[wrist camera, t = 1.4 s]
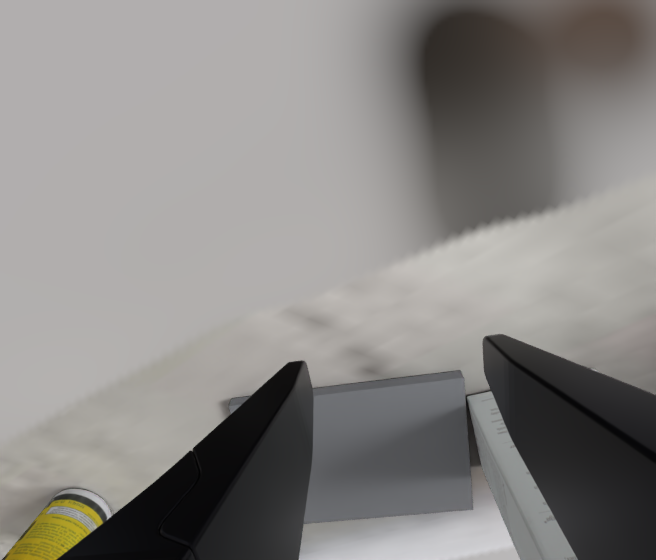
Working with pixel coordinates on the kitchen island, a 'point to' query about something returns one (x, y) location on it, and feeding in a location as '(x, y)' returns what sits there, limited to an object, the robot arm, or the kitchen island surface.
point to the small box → (515, 486)
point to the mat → (388, 448)
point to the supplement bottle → (61, 526)
